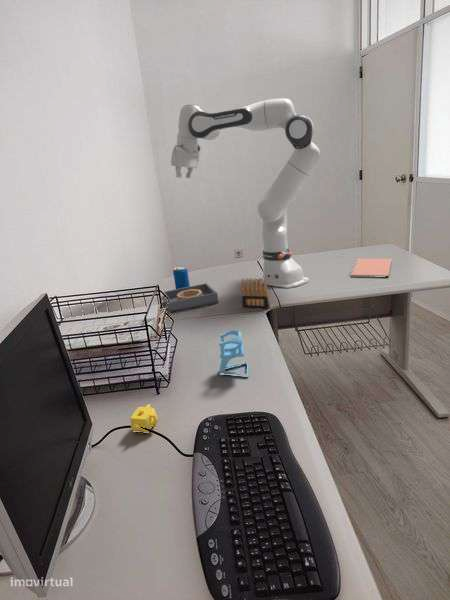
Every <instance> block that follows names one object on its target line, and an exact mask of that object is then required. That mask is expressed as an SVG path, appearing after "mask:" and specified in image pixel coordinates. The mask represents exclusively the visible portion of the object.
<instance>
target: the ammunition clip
mask: <svg viewBox="0 0 450 600" xmlns="http://www.w3.org/2000/svg"><path fill="white" fill-rule="evenodd" d="M241 293H242V297H241V299H242V300H241V302H242V308H243V309H255V308H261V310H262V309H263V310H269V309H270V308H271V304H270V297H269V296H270V295H269V290H268V285H267V283H266V279H264V284H262V279H261V278H259V282H258V279H257V278H255V280H253V278H250V281H249V278H246V281H245V279H244V278H242V280H241Z"/></svg>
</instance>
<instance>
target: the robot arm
mask: <svg viewBox="0 0 450 600" xmlns="http://www.w3.org/2000/svg"><path fill="white" fill-rule="evenodd" d="M177 126H178V133H177V135H176V138H177V139H176V144H175V145H174V148H173V149H172V152H171V158H170V159H171V160H170V165H171V166H172V167H175V169H174V170H175V172H176V174H175V175H176V178H182V173H181V172H182V171H181V170H182V168H187V173H186V175H185V178H186V179H191V177H192V173H193V170H194V169H197V168H198V166H199V162H200V152H202V151H201V150H202V148H201V147H202V146H200V145H199V143H198V139H203V140H207V141H213V140H215V139H216V138H217V137H218V136H219V135H220V132H221V130H225V129H231V128H243V129H245V130H250V131H255V132H257V131H268V130H272V129H276V128H277V129H279V128H280V129H283V130H285V132H284V133H285V137H286V139H287V141H289V143H290V144H291V145H292V147H293V148H294V150H293V152H292V154H291V156H290V157H289V159H288V160H287V161H286V163H285V165H283V168H282V170H281V171H279V174H278V175H277V177H276V178H275V180H274V181H273V182H272V183H271V185H270V187H269V188H268V189H267V191H266V192H265V194H264V196H263V197H262V199H261V200H260V201H259V203H258V206H257V213H258V216H259V217H260V218H261V220H262V233H261V236H262V247H263V250H262V258H263V264H262V279H261V280H262V285H264V279H266V283H267V286H273V287H278V288H279V287H280V288H283V289H284V288H285V289H290V288H295V287H299V286H301V285H305V284H306V283H308V282H309V281H310V279H309V278H308V277H306V276H304V271H303V268H302V267H301V265H299V264H298V263H297V262H296V261H295V260H294V259H293V258H292V254H293V251H290V250H289V248H288V233H287V232H288V212H287V211H288V207H289V206H290V205H291V203H292V202H293V200H294V198H295V197H297V194H298V192H299V191H300V190H301V189H302V187H303V186H304V184H305V183H306V182H307V180H308V178H309V177H310V175H311V174H312V173H313V171H314V169H315V168H316V166H317V163H318V162H319V160H320V157H321V151H320V149H319V147H318V146H317V145H316V144H315V143H314V142H313V136H314V134H315V126H314V123H313V121H312V120H311V118H310V117H308V116H307V115H303V114H298V113H296V111H295V106H294V103H293V102H292V100H291V99H289V98H283V97H282V98H281V97H280V98H271V99H265V100H261V101H258V102H254V103H251V104H249V105H245V106H242V107H240V108H235V109H231V110H227V111H226V110H225V111H220V112H214V113H210V112H205V111H204V110H202V109H201V108H200V106H198V105H195V104H186V105H184V106H182V107H181V108H180V112H179V116H178V125H177Z"/></svg>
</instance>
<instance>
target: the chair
mask: <svg viewBox="0 0 450 600" xmlns="http://www.w3.org/2000/svg"><path fill="white" fill-rule="evenodd" d="M230 335H233V336H235V337H229V338H226V339H224V338H225V337H227V336H230ZM242 336H243V335H242V331H240V330H239V331H238V330H229V331H225V333H223V334H222V333H221V334H220V335H219V337H220V340H221V342H219V343H218V345H219V347H220V350H219V351H220V353H219V358H220V359H221V361H220V366H219V373H224V374H237V375H248V365H249V363H248V364H247V363H246V362H247V361H248V360H246V361H241V362H240V361H239V362H237V363H233V364H229V365H228V363H229V362H230V360H233V359H236V358H242V357H245V354H244V353H245V352H244V349H245V348H244V343H243V342H242V341H243V338H242ZM242 363H246V364H247V369H246V368H245V369H246V373H243V372H235V371H234V372H233V371H229V370H225V368H228V367H232V366H236V365H239V364H242Z"/></svg>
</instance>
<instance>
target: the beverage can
mask: <svg viewBox="0 0 450 600" xmlns="http://www.w3.org/2000/svg"><path fill="white" fill-rule="evenodd" d="M172 272H173V280H174V285H175V289H179V288H184V287H189V286H191V284H190V279H189V272H188V269H187V266H184V265H183V266H176V267H173V271H172Z"/></svg>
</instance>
